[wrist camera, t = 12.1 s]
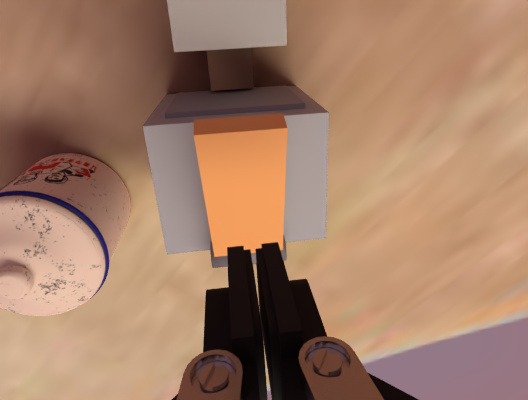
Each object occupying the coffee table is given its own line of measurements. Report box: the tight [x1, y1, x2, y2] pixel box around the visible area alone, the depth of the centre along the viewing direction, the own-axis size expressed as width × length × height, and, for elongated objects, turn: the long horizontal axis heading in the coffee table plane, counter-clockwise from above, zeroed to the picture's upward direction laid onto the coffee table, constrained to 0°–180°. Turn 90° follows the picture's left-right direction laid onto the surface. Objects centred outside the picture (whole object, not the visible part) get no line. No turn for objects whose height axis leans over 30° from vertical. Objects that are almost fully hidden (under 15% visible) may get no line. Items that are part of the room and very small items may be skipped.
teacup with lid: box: [0, 153, 131, 316], centre depth 27 cm, size 12×9×12 cm
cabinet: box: [143, 85, 329, 254], centre depth 26 cm, size 10×8×10 cm
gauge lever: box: [194, 113, 287, 268], centre depth 20 cm, size 4×10×2 cm, turn 3°
